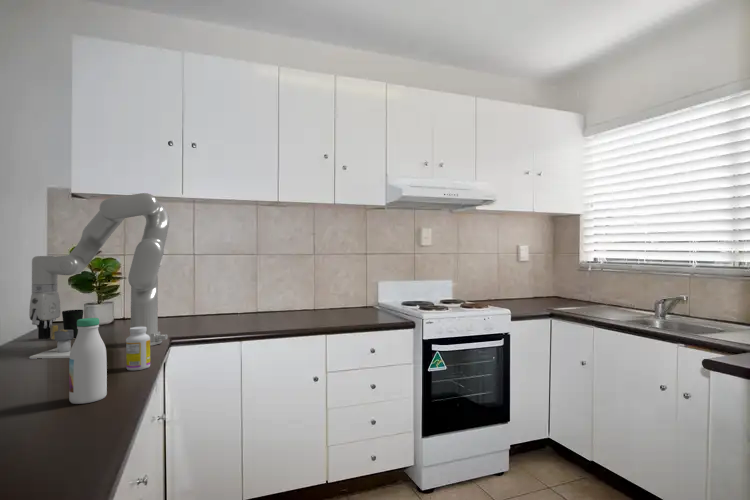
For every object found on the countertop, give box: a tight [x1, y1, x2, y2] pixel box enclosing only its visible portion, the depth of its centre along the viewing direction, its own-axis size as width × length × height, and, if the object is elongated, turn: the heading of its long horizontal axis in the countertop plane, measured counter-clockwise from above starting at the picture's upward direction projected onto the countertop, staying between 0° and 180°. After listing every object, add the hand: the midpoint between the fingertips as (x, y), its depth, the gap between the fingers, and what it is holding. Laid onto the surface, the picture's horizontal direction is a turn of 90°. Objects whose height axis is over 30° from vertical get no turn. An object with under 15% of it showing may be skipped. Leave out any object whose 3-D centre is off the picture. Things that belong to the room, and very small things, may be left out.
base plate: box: [29, 339, 72, 360], centre depth 154 cm, size 14×14×5 cm
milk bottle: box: [68, 317, 108, 405], centre depth 104 cm, size 8×8×20 cm
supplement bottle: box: [125, 327, 151, 371], centre depth 133 cm, size 7×7×13 cm
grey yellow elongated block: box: [50, 325, 74, 342], centre depth 156 cm, size 12×6×5 cm, turn 56°
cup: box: [61, 309, 84, 338], centre depth 183 cm, size 8×8×12 cm
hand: (44, 338), depth 156 cm, fingers closed
